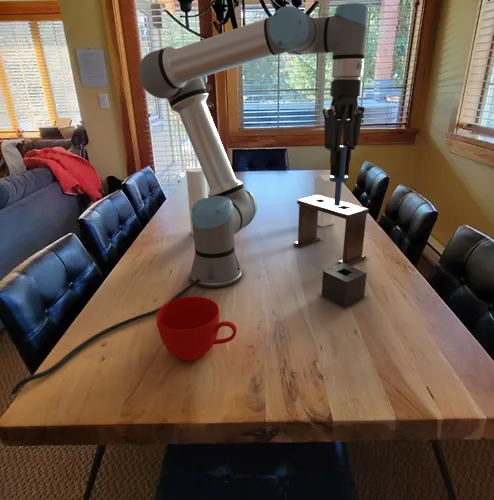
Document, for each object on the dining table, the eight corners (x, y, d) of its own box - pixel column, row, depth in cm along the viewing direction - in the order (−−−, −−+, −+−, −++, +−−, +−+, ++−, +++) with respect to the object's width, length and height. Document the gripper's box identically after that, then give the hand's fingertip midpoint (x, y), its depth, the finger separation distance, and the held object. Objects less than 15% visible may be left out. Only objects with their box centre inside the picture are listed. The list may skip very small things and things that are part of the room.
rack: (345, 267, 118) (350, 215, 111) (294, 244, 135) (295, 199, 128) (365, 258, 123) (371, 209, 116) (313, 238, 140) (315, 194, 134)
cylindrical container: (206, 237, 143) (202, 172, 133) (188, 236, 145) (183, 171, 135) (212, 230, 150) (208, 168, 140) (195, 229, 151) (190, 167, 141)
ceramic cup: (227, 380, 73) (224, 338, 69) (149, 365, 77) (143, 324, 73) (246, 340, 84) (245, 302, 80) (178, 329, 88) (173, 292, 85)
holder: (344, 307, 96) (346, 282, 93) (321, 295, 102) (322, 271, 99) (363, 297, 100) (366, 272, 97) (340, 286, 106) (342, 262, 103)
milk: (332, 224, 155) (337, 171, 146) (322, 227, 152) (325, 172, 143) (322, 220, 159) (326, 168, 151) (312, 222, 156) (315, 170, 148)
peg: (337, 208, 101) (342, 148, 94) (324, 204, 105) (327, 146, 98) (349, 205, 104) (355, 146, 97) (336, 201, 107) (340, 144, 101)
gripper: (335, 78, 84) (329, 181, 94) (379, 78, 93) (369, 173, 102) (312, 79, 90) (308, 176, 99) (355, 79, 98) (348, 168, 108)
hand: (339, 174), depth 101 cm, fingers closed on peg, 3 cm apart
